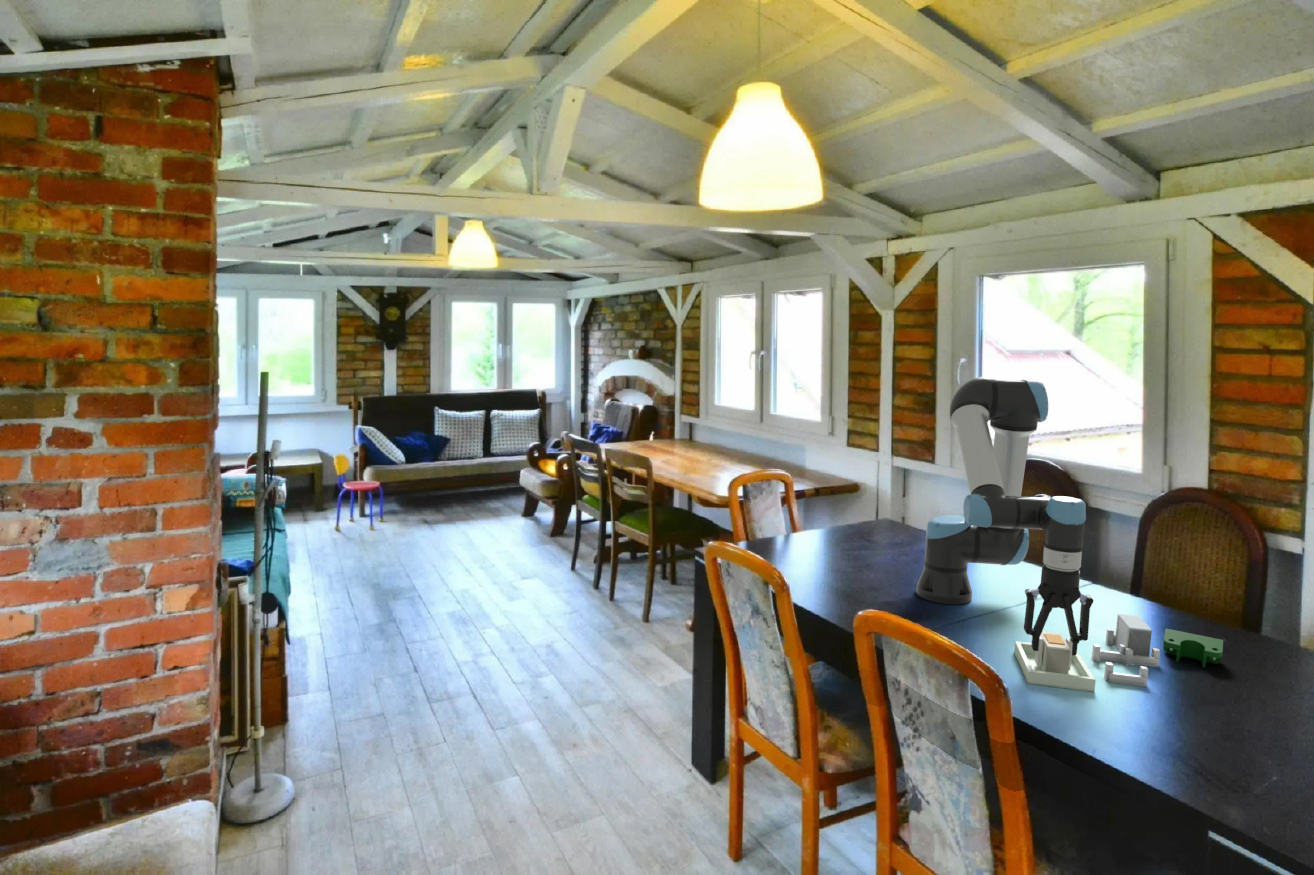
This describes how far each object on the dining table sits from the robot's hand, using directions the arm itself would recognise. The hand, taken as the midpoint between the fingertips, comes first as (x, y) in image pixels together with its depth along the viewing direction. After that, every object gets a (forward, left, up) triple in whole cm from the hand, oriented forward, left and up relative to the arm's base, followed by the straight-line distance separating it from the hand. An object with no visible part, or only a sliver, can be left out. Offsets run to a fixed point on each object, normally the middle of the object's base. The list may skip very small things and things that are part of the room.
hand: (1052, 665), depth 170 cm
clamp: (+33, +16, -2) cm, 37 cm away
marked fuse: (0, 0, -1) cm, 1 cm away
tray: (0, 0, -1) cm, 1 cm away
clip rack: (+18, +10, -1) cm, 20 cm away
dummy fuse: (+21, +16, -1) cm, 26 cm away
